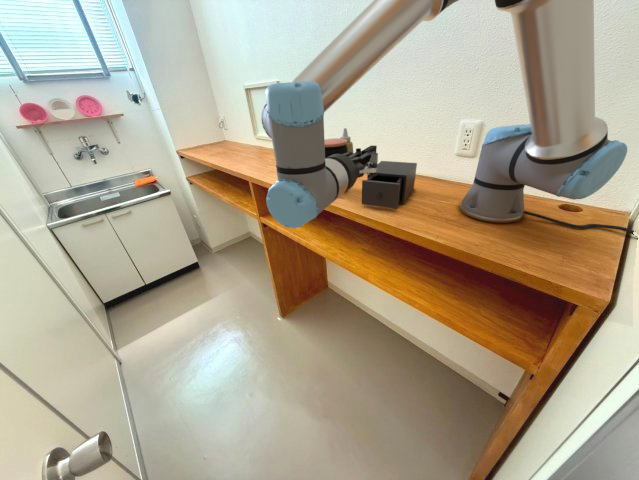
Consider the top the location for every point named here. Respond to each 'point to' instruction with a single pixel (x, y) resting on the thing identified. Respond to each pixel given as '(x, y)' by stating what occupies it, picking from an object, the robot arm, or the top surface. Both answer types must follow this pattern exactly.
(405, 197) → the cabinet
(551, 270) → the top surface
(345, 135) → the squeeze bottle
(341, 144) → the coffee jar
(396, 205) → the drawer
